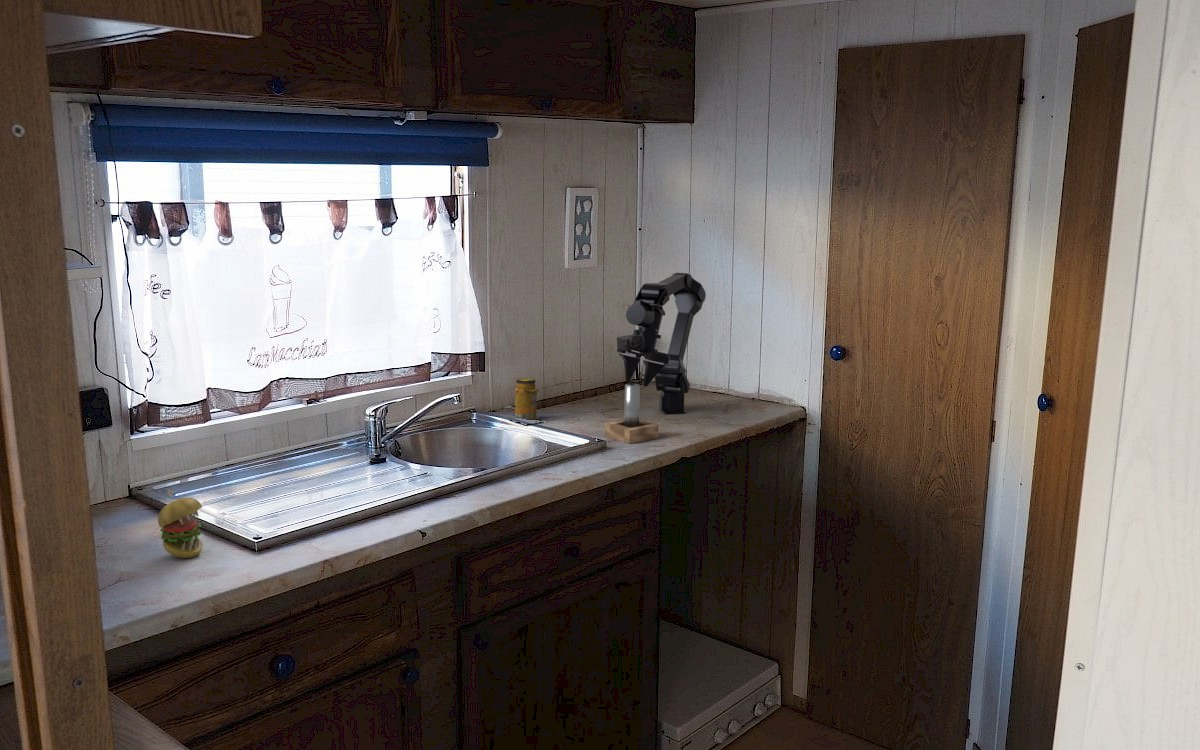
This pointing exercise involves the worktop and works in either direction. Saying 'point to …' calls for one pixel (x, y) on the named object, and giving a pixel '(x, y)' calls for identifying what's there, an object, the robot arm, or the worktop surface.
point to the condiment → (526, 399)
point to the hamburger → (181, 527)
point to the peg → (632, 405)
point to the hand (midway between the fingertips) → (636, 383)
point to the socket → (631, 431)
